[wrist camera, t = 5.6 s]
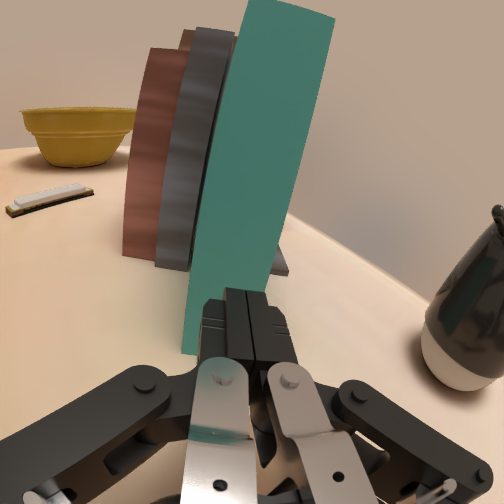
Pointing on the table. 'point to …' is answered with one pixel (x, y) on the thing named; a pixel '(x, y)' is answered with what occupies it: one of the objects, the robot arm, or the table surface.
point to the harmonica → (47, 199)
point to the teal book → (255, 152)
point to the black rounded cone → (470, 316)
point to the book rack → (176, 147)
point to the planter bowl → (78, 133)
